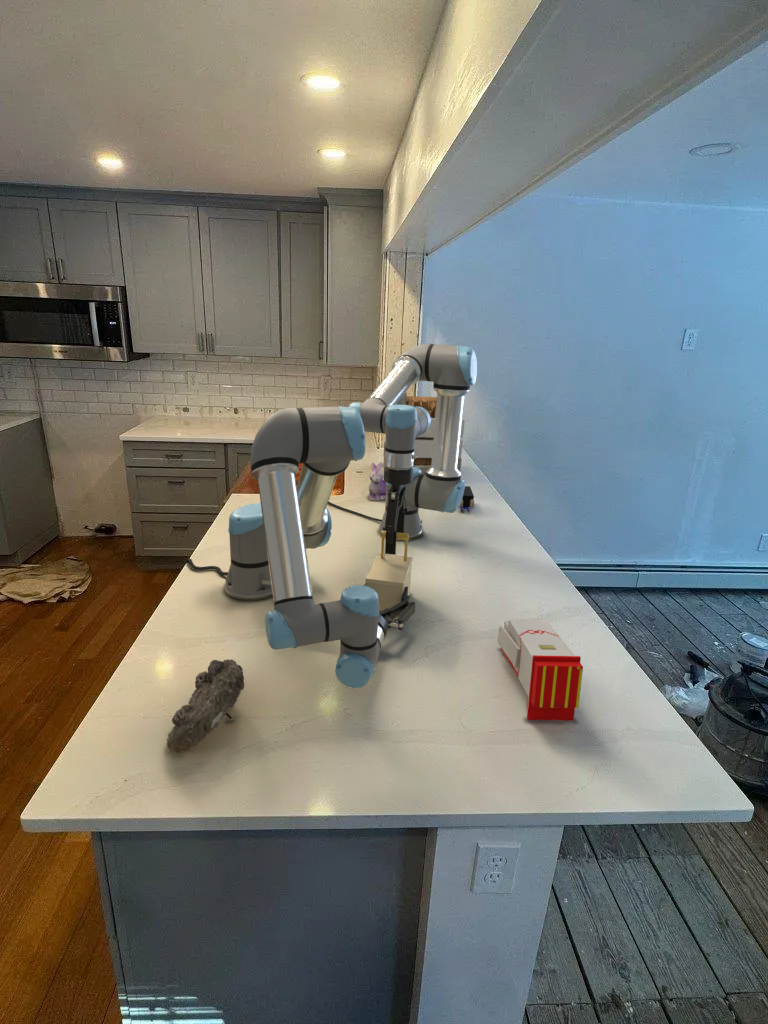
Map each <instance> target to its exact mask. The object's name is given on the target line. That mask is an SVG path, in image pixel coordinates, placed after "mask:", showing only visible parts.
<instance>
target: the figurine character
mask: <svg viewBox="0 0 768 1024" xmlns="http://www.w3.org/2000/svg"><path fill="white" fill-rule="evenodd" d="M474 498H475V496H474V492H473V489H472V488H471V486H469V485H465V490H464V494H463V497H462V500H461V503H460V505H459V508H458V509H460V512H461V513H462V512H464V511H463V510H467V512H468V513H470V511H471V510H470V509H474V508H475V499H474Z"/></svg>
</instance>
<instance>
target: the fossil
mask: <svg viewBox="0 0 768 1024" xmlns="http://www.w3.org/2000/svg"><path fill="white" fill-rule="evenodd" d="M243 670H244V669H243V667H242V665H240V664H237V662H236V661H235V660H234V659H232V658H231V659H227V658H226V659H224V660H223V661H222V660H217V659H212V660H211V661H210V663H209V665H208V666H207V671H201V672H199V673H198V674H197V675H196V676H195V680H194V684H195V685H194V687H195V689H194V690H193V693H192V694H191V697H190V698H189V700H188V704H184V705H182V706H181V707H180V709H177V710H176V711H175V713H174V715H173V716H172V718H171V723H172V724H173V727H172V730H171V731H170V732H168V734H167V738H166V741H167V742H166V745H167V749H168V750H169V751H173V752H174V753H176V754H178V753H182V752H188V751H189V752H192V751H193V750H195V748H196V747H197V746H199V744H200V743H201V742H203V741H204V740H205V739H206V738H207V737H208V736H209V735H210V734H211V733H212V732H214V730H215V729H217V727H218V726H219V724H220V722H221V721H222V720H223V719H224V718H225V716H226V717H227V719H229V720H233V717H232V715H230V714H229V710H230V709H231V708H234V706H235V704H236V703H237V702H238V699H239V697H240V695H241V693H242V691H243V690H245V689H244V688H245V675H244V671H243Z"/></svg>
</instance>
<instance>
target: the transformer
mask: <svg viewBox="0 0 768 1024" xmlns="http://www.w3.org/2000/svg"><path fill="white" fill-rule="evenodd" d="M407 394H408V393H407V391H406V392H405V394H404V395H403V396H402V398H401V399H400V400H399V402H398V403H397V404H396V405H410V406H413V407H422V408H424V409H426V410H427V411H428V413H429V415H430V418H431V423H430V426H429V428H428V430H426V432H425V433H424V434H422V435H420V436H418V437H416V438H415V450H414V454H413V455H415V456H416V459H414V463H413V467H417V466H418V467H431V463H432V451H433V440H434V428H435V416H436V405H437V396H415V395H414V396H413V395H412V396H411V395H407ZM464 429H465V419H464V418H462V422H461V432H460V442H459V452H458V462H457V469H458V470H459V472H460V473H461V472H462V461H463V460H462V453H463V442H464V441H463V440H462V439H463V438H464V431H465V430H464ZM384 454H385V441H384V442H383V455H384ZM382 465H383V466H384V467H386V466H385V465H384V462H382ZM461 474H462V473H461Z"/></svg>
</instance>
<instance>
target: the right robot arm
mask: <svg viewBox="0 0 768 1024" xmlns="http://www.w3.org/2000/svg"><path fill="white" fill-rule="evenodd" d="M477 375H478V361H477V356H476V352H475V350H474V349H473V348H472V347H470V346H464V345H459V344H458V345H455V344H454V345H453V344H440V343H439V344H438V343H435V344H434V343H423V344H418V345H415V346H413V347H411V348H409V349H407V350H406V351H404V352H402V353H401V354H400V355H399V356H397V358H396V359H395V360H394V361H393V363H392V366H391V370H390V371H389V372H388V373H387V374H386V376H385V377H384V378H383V379H382V381H380V383H379V384H378V385H377V386H376V387H375V389H374V390H373V391H372V392H371V394H370V395H369V396H368V397H367V398H366V399H365V400H364V402H361V401H359V402H351V403H350V404H349V406H348V407H352V408H354V409H356V410H357V411H358V412H359V414H360V416H361V419H362V422H363V426H364V432H365V433H375V434H383V435H385V438H384V442H385V454H384V453H383V463H384V464H383V466H384V465H385V466H384V467H383V480H384V481H385V482H386V499H385V504H384V505H385V507H384V508H385V509H384V513H383V515H382V519H381V518H376V517H372V516H369V515H366V514H363V513H361V512H358V511H354V510H352V509H348V508H345V507H342V506H340V505H338V504H336V503H333V502H331V501H330V500H329V501H328V504H327V505H330V506H333V507H335V508H337V509H340V510H342V511H345V512H348V513H350V514H354V515H357V516H360V517H362V518H365V519H367V520H372V521H375V522H379V525H378V533H379V534H380V535H381V532H382V531H386V538H385V541H384V554H388V555H396V553H397V541H400V540H399V539H396V538H397V532H398V533H407V534H409V539H408V541H410V540H415V539H418V538H420V537H421V536H422V535H423V525H422V524H423V519H421V518H420V515H419V509H424V510H429V511H435V512H441V513H449V514H453V513H456V512H457V511H458V509H460V508H459V505H460V503H461V500H462V497H463V494H464V490H465V486H466V480H465V479H462V473H460V472H459V470H458V469H457V462H458V452H459V442H460V439H461V438H460V432H461V422H462V419H463V410H464V402H465V395H467V394H468V393H469V392H470V388H471V387H472V386H474V385H475V384H476V382H477ZM419 382H431V383H433V385H432V388H433V390H434V391H435V392H436V397H437V405H436V416H435V428H434V440H433V451H432V463H431V465H430V466H429V468H427V469H426V471H425V473H422V469H421V468H419V467H417V466H413V463H414V459H416V456H415V455H413V454H414V450H415V438H416V437H418V436H420V435H422V434H424V433H425V432H426V430H428V428H429V426H430V423H431V418H430V415H429V413H428V411H427V410H426V409H424V408H422V407H413V406H410V405H396V404H397V403H398V402H399V400H400V399H401V398H402V396H403V395H404V394H405V392H406V393H407V391H408V390H409V389H410V387H411V386H413V385H415V384H417V383H419ZM297 484H298V482H296V486H297Z"/></svg>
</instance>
